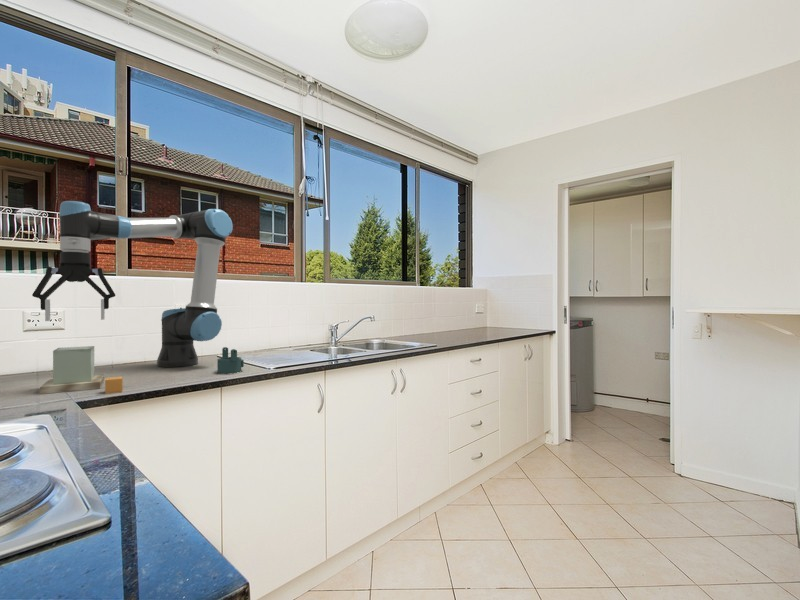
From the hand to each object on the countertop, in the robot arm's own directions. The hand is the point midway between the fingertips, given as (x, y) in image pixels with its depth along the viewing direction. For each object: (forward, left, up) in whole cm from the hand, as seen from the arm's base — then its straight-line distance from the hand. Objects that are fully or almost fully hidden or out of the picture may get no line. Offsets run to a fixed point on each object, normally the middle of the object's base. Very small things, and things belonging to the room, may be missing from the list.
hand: (76, 320), depth 129 cm
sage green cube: (0, +1, -19) cm, 19 cm away
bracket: (-46, -3, -21) cm, 50 cm away
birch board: (0, +1, -21) cm, 21 cm away
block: (-11, +15, -21) cm, 28 cm away
